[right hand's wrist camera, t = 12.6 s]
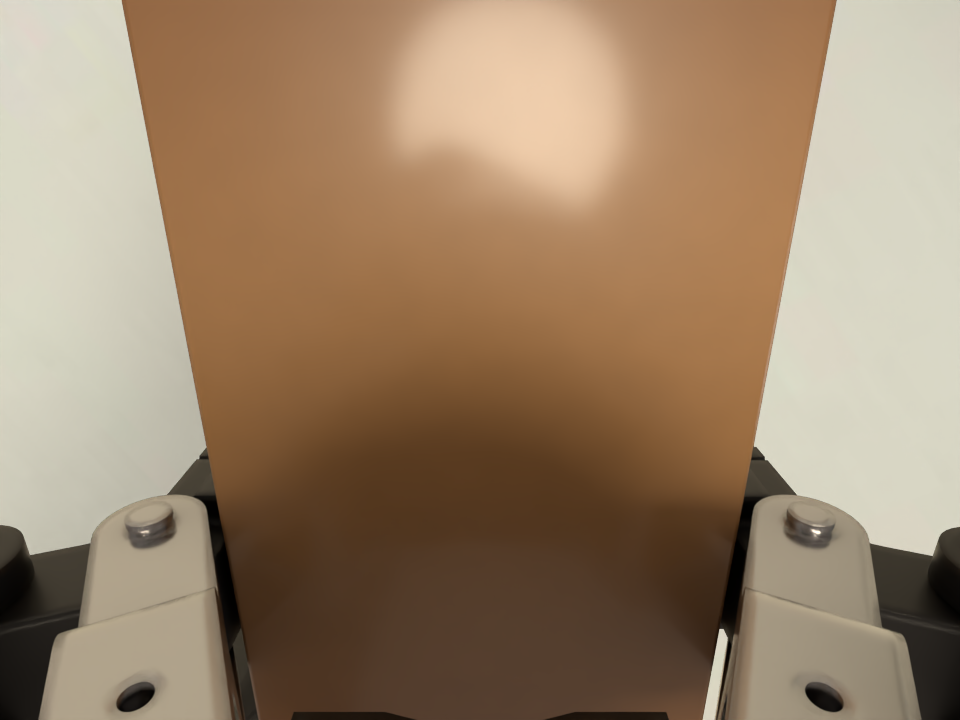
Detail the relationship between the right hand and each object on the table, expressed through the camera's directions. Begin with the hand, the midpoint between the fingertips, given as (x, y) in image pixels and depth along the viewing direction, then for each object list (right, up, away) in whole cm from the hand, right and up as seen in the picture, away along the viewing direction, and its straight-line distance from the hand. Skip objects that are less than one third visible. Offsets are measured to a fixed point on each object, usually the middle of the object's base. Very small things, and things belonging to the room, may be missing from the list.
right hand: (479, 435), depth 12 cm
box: (0, +9, +1) cm, 9 cm away
